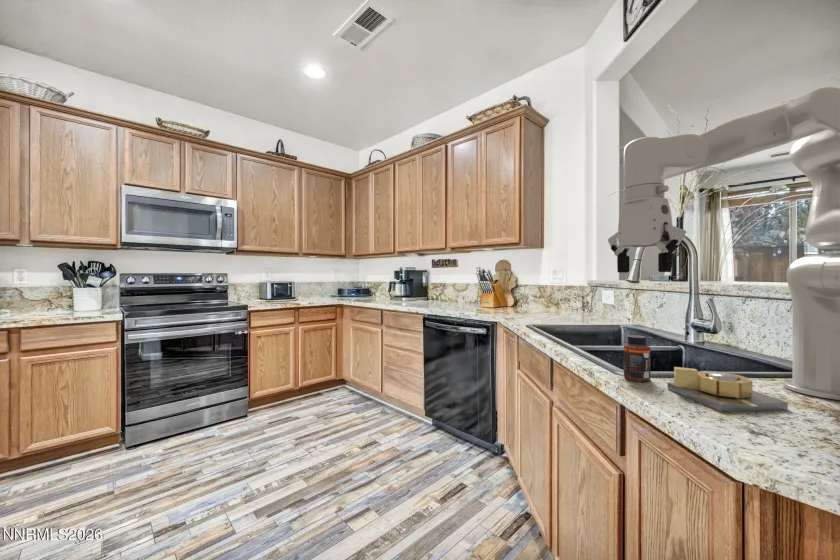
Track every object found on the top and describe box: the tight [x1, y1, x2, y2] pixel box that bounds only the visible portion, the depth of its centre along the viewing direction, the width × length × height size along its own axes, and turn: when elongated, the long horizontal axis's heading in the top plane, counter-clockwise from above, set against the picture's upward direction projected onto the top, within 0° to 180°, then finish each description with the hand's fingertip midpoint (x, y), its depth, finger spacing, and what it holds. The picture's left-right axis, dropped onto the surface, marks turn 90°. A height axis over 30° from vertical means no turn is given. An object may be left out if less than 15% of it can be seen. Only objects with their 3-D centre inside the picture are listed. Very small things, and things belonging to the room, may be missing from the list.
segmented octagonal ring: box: [673, 366, 753, 398], centre depth 77 cm, size 13×9×4 cm
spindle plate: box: [667, 371, 789, 413], centre depth 76 cm, size 14×16×5 cm
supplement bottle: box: [623, 334, 651, 383], centre depth 91 cm, size 6×6×11 cm
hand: (643, 272), depth 78 cm, fingers open, 9 cm apart
